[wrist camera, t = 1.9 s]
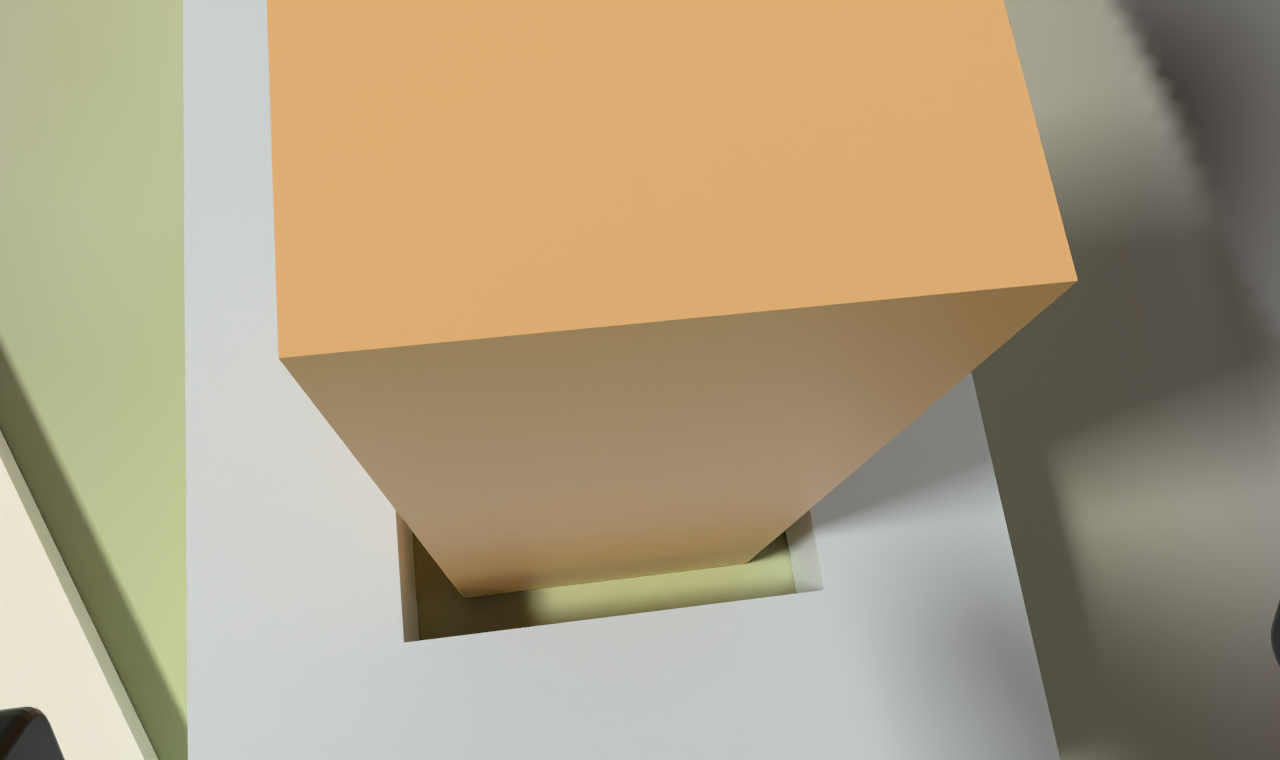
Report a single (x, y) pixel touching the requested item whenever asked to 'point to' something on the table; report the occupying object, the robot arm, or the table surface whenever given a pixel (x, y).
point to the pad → (55, 639)
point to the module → (643, 258)
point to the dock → (563, 652)
